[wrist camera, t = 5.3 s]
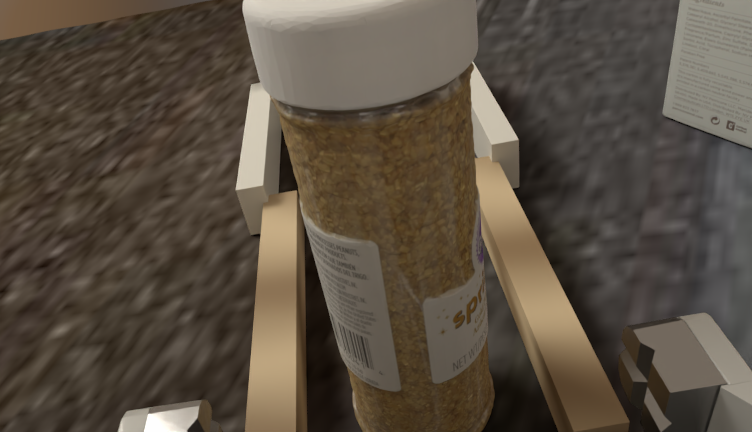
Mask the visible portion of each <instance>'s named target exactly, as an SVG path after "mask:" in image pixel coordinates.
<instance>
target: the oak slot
mask: <svg viewBox="0 0 752 432" xmlns="http://www.w3.org/2000/svg"><path fill="white" fill-rule="evenodd" d="M475 165H476V185H477V187H478V190H479V194H480V213H481V232H482V237H483V240H484V242H485V245H486V247H487V250H488V253H489V255H490V258H491V260H492V263H493V265H494V268H495V271H496V273H497V276H498V278H499V281H500V283H501V286H502V288H503V291H504V294H505V296H506V299H507V301H508V304H509V306H510V309H511V312H512V314H513V317H514V319H515V322H516V324H517V327H518V330H519V332H520V335H521V337H522V340H523V342H524V345H525V348H526V350H527V353H528V355H529V358H530V360H531V363H532V365H533V368H534V371H535V373H536V376H537V378H538V381H539V383H540V386H541V389H542V391H543V394H544V396H545V399H546V401H547V404H548V407H549V409H550V412H551V414H552V417H553V419H554V422H555V424H556V427H557V430H558V432H628V429H629V423H630V422H629V420H628V418H627V416H626V414H625V412H624V410H623V408H622V406H621V404H620V402H619V400H618V398H617V396H616V394H615V392H614V390H613V388H612V386H611V384H610V382H609V380H608V378H607V376H606V374H605V372H604V370H603V368H602V366H601V364H600V362H599V360H598V358H597V356H596V354H595V352H594V350H593V348H592V346H591V344H590V342H589V340H588V338H587V336H586V334H585V332H584V330H583V328H582V326H581V324H580V322H579V320H578V318H577V316H576V314H575V312H574V310H573V308H572V306H571V304H570V302H569V300H568V299H567V297H566V295H565V293H564V291H563V289H562V287H561V285H560V283H559V281H558V279H557V277H556V275H555V273H554V271H553V269H552V267H551V265H550V263H549V261H548V259H547V257H546V255H545V253H544V251H543V249H542V247H541V245H540V243H539V241H538V239H537V237H536V235H535V233H534V231H533V229H532V227H531V225H530V223H529V221H528V219H527V217H526V215H525V213H524V211H523V209H522V207H521V205H520V203H519V201H518V199H517V197H516V195H515V193H514V191H513V189H512V187H511V185H510V183H509V181H508V179H507V177H506V175H505V174H504V172H503V170H502V168H501V166H500V164H499V162H498V161H496V162H492V161H491V159H490V157H489V156H485V157H480V158H475ZM245 432H307V379H306V306H305V233H304V220H303V216H302V212H301V207H300V201H299V197H298V193H297V190H295V191H289V192H284V193H278V194H273V195H269V198H268V202H267V203H263V211H262V224H261V236H260V249H259V262H258V274H257V287H256V299H255V312H254V324H253V337H252V349H251V362H250V375H249V387H248V400H247V412H246V425H245Z"/></svg>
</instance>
